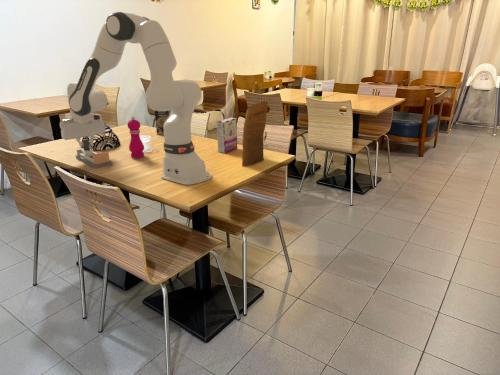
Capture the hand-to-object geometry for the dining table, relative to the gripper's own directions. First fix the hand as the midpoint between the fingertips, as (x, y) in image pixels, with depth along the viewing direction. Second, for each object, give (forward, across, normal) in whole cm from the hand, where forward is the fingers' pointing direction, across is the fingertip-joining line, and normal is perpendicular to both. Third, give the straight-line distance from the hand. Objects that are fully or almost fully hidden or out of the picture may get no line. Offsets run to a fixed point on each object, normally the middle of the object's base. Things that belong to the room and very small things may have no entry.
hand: (86, 145), depth 185 cm
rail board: (+7, 0, -6) cm, 9 cm away
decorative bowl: (+7, +15, +18) cm, 25 cm away
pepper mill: (+7, +19, -14) cm, 25 cm away
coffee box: (+7, +56, +18) cm, 59 cm away
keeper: (+5, 0, 0) cm, 5 cm away
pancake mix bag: (+7, +53, -62) cm, 82 cm away
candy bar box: (+7, +58, -38) cm, 70 cm away
